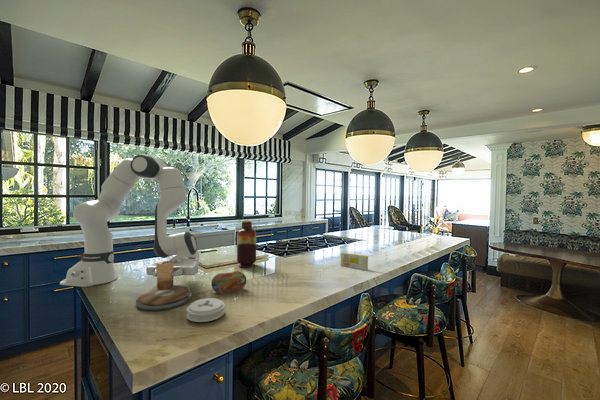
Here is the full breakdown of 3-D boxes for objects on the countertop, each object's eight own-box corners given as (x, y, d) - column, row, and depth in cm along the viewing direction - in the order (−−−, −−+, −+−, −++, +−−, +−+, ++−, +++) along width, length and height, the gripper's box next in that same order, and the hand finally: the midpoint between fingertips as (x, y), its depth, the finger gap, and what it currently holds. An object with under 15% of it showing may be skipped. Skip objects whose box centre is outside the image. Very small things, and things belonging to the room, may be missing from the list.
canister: (154, 290, 108) (153, 264, 108) (161, 285, 114) (161, 260, 114) (169, 290, 108) (169, 264, 108) (176, 285, 114) (175, 260, 114)
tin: (212, 295, 117) (212, 275, 117) (210, 292, 120) (210, 273, 120) (246, 289, 124) (246, 271, 124) (244, 287, 127) (244, 269, 127)
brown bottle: (233, 265, 163) (233, 221, 163) (249, 262, 171) (249, 220, 170) (243, 269, 155) (243, 223, 154) (259, 265, 163) (260, 221, 162)
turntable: (128, 305, 102) (128, 301, 102) (154, 288, 120) (154, 284, 120) (181, 306, 102) (181, 302, 102) (199, 288, 120) (199, 285, 120)
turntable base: (124, 310, 101) (124, 306, 101) (153, 290, 121) (153, 287, 121) (178, 311, 101) (178, 307, 101) (198, 291, 121) (198, 288, 121)
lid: (220, 324, 92) (220, 309, 92) (181, 325, 91) (181, 310, 91) (227, 308, 105) (227, 295, 105) (193, 309, 104) (193, 295, 104)
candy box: (368, 270, 157) (368, 255, 157) (366, 271, 155) (367, 256, 155) (341, 265, 166) (342, 252, 165) (340, 266, 164) (340, 252, 163)
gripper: (155, 258, 124) (137, 266, 110) (201, 258, 124) (189, 267, 110) (156, 272, 124) (138, 282, 110) (201, 272, 124) (189, 282, 110)
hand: (164, 274), depth 110 cm, fingers closed on canister, 6 cm apart
